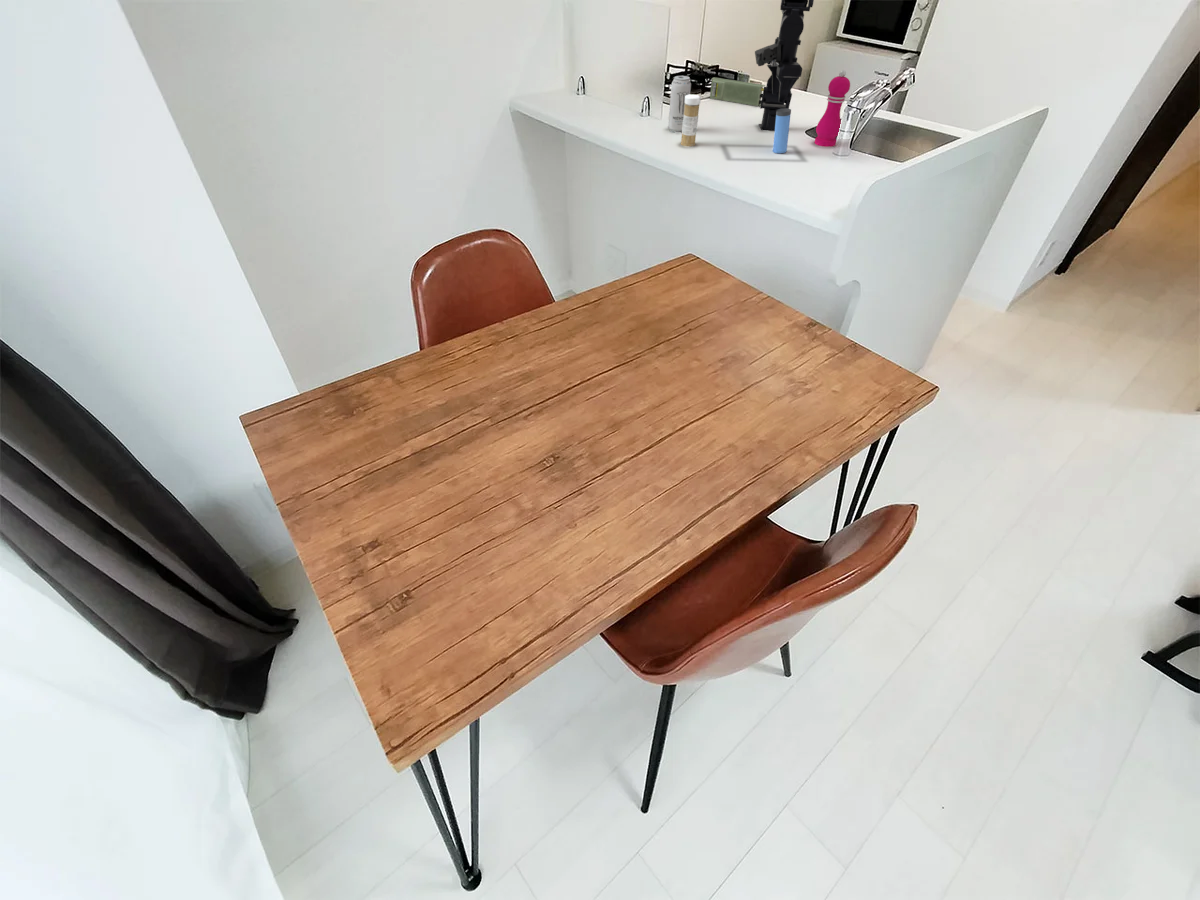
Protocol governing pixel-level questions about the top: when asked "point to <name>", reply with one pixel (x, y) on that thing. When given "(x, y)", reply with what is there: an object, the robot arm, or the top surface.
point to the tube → (781, 130)
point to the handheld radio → (736, 91)
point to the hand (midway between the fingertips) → (777, 98)
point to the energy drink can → (678, 102)
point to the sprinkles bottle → (690, 119)
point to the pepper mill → (832, 111)
